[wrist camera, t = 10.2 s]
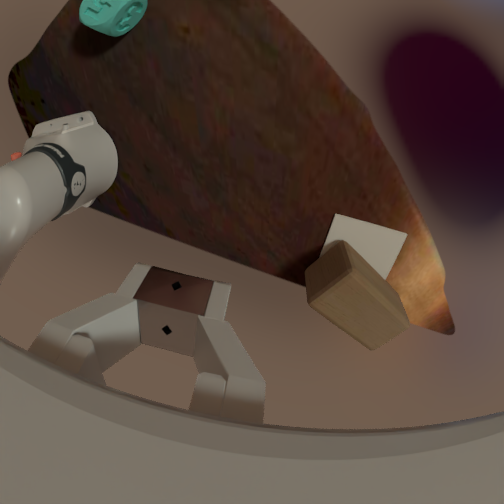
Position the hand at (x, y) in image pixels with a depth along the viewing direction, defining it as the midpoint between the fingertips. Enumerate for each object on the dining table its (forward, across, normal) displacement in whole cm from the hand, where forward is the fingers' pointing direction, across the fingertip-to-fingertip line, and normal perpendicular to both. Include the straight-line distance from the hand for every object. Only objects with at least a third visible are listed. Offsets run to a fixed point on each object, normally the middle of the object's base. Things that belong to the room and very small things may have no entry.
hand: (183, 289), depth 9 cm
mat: (+39, -23, +17) cm, 49 cm away
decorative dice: (+39, +26, -18) cm, 50 cm away
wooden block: (+34, -16, +19) cm, 42 cm away
